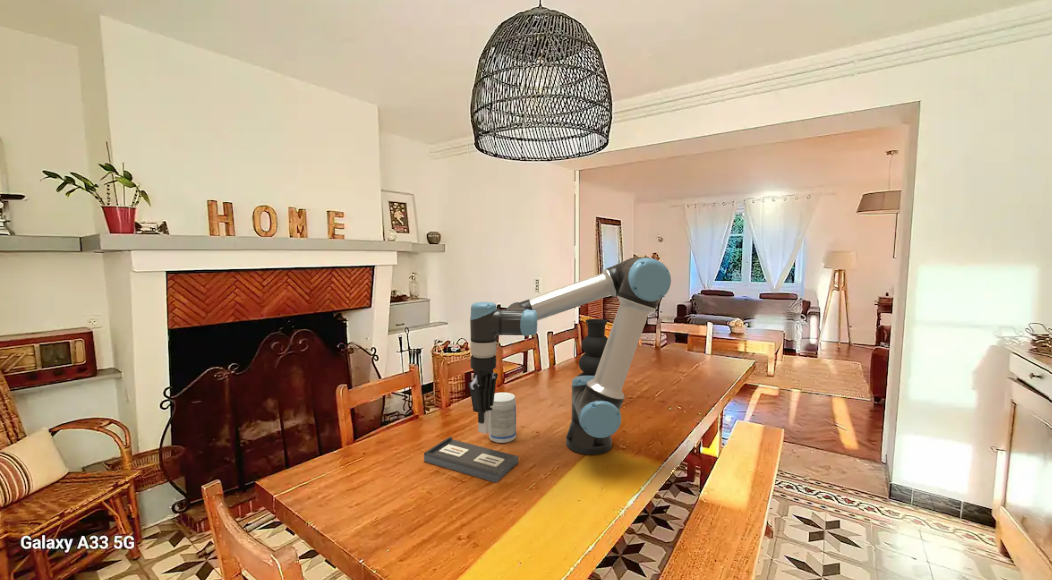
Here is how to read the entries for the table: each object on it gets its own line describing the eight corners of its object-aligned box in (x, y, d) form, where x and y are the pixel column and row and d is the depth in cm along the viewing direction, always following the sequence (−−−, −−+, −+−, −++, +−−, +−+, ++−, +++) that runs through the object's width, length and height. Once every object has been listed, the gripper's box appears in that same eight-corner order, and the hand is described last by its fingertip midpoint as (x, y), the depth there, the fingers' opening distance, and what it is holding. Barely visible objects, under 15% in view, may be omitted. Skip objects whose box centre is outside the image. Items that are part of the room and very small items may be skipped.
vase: (623, 399, 188) (625, 319, 184) (607, 413, 172) (609, 326, 169) (584, 391, 198) (585, 315, 194) (565, 404, 182) (566, 321, 178)
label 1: (469, 450, 137) (469, 449, 137) (459, 457, 132) (459, 456, 132) (448, 445, 141) (448, 444, 141) (438, 451, 136) (438, 450, 136)
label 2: (504, 460, 131) (504, 458, 131) (496, 467, 126) (496, 466, 126) (482, 454, 135) (482, 452, 135) (473, 461, 130) (473, 459, 130)
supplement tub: (521, 439, 149) (521, 398, 148) (497, 446, 144) (497, 403, 142) (506, 429, 157) (506, 390, 156) (483, 436, 152) (483, 395, 150)
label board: (518, 462, 133) (518, 453, 133) (496, 482, 122) (496, 473, 122) (450, 444, 145) (450, 436, 145) (424, 461, 134) (423, 452, 134)
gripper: (484, 348, 135) (484, 421, 138) (459, 358, 124) (460, 437, 126) (505, 351, 132) (505, 426, 134) (482, 361, 120) (482, 443, 123)
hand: (483, 431), depth 130 cm, fingers closed
